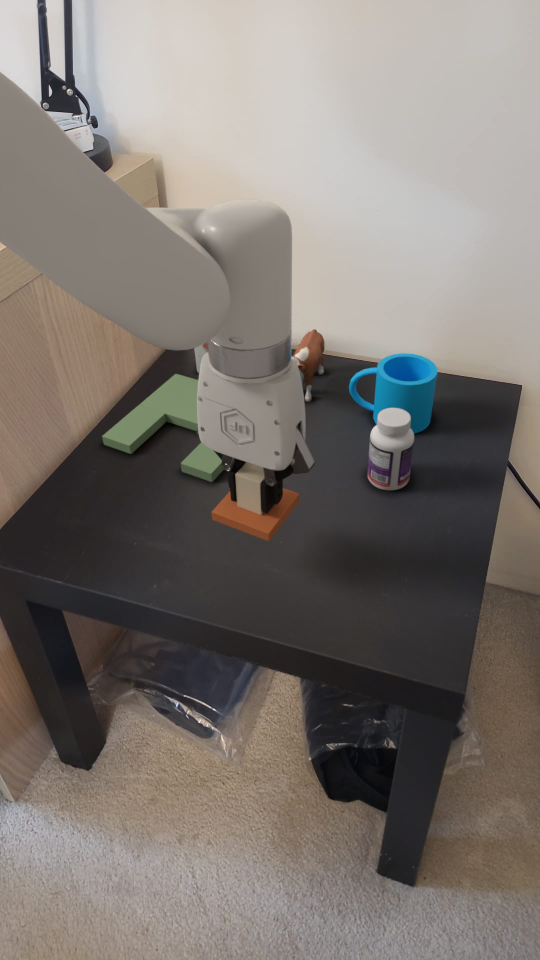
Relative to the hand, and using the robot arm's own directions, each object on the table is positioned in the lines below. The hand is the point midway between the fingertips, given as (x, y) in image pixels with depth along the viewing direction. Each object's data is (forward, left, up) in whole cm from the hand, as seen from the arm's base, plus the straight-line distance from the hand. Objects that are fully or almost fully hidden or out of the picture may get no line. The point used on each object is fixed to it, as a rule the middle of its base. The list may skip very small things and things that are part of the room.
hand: (255, 498), depth 73 cm
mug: (+3, +32, -9) cm, 34 cm away
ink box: (-27, +34, -9) cm, 45 cm away
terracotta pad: (0, 0, -2) cm, 2 cm away
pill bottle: (+8, +19, -9) cm, 23 cm away
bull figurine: (-11, +33, -9) cm, 36 cm away
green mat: (-21, +17, -9) cm, 28 cm away
